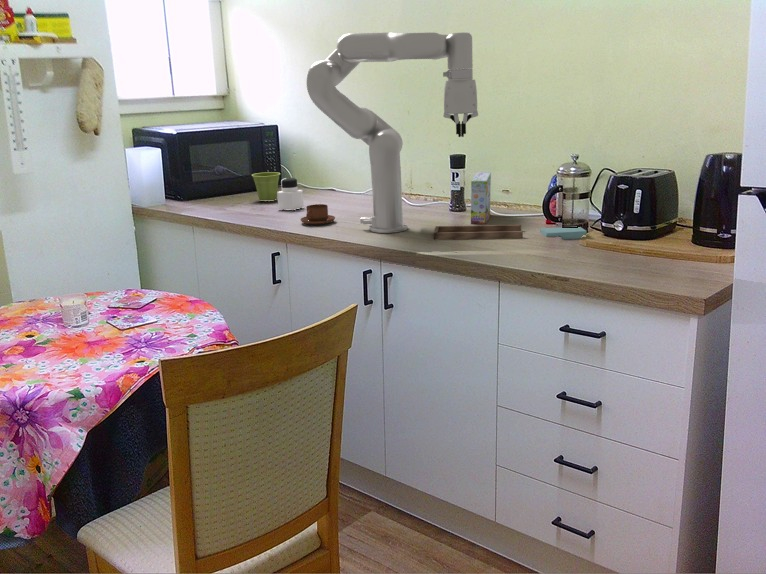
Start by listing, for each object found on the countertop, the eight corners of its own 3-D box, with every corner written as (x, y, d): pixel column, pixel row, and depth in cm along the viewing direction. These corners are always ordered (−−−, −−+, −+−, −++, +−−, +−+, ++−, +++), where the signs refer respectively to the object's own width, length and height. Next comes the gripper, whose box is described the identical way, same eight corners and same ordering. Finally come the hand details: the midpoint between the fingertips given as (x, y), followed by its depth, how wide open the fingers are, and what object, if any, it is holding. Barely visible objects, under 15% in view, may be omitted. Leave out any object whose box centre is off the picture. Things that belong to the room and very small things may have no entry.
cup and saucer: (330, 227, 253) (329, 209, 251) (296, 227, 255) (295, 209, 253) (339, 220, 264) (338, 202, 262) (306, 220, 266) (305, 203, 265)
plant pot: (250, 203, 306) (247, 176, 303) (259, 198, 317) (256, 172, 314) (277, 203, 304) (275, 175, 301) (286, 198, 315) (283, 171, 312)
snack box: (487, 227, 240) (487, 180, 236) (470, 227, 241) (469, 180, 237) (491, 214, 260) (491, 171, 256) (475, 215, 261) (475, 171, 257)
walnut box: (434, 242, 222) (433, 233, 221) (436, 235, 232) (435, 226, 231) (522, 241, 218) (522, 231, 218) (520, 233, 228) (520, 224, 227)
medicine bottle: (304, 208, 290) (301, 177, 286) (292, 211, 284) (290, 180, 281) (289, 207, 293) (287, 176, 290) (278, 210, 288) (275, 179, 284)
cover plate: (546, 241, 219) (546, 233, 218) (540, 236, 225) (540, 228, 225) (586, 239, 219) (586, 231, 218) (579, 234, 226) (579, 226, 225)
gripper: (435, 76, 224) (436, 138, 229) (485, 74, 222) (485, 136, 227) (436, 76, 231) (437, 136, 236) (484, 74, 229) (485, 134, 235)
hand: (461, 136), depth 232 cm, fingers closed
